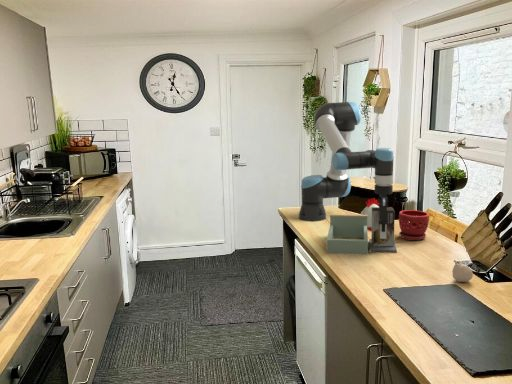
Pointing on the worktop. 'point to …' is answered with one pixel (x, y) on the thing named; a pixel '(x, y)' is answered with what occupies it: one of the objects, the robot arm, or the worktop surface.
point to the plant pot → (413, 224)
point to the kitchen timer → (370, 211)
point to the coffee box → (376, 227)
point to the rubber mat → (382, 248)
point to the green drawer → (347, 234)
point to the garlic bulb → (462, 272)
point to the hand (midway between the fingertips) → (382, 235)
